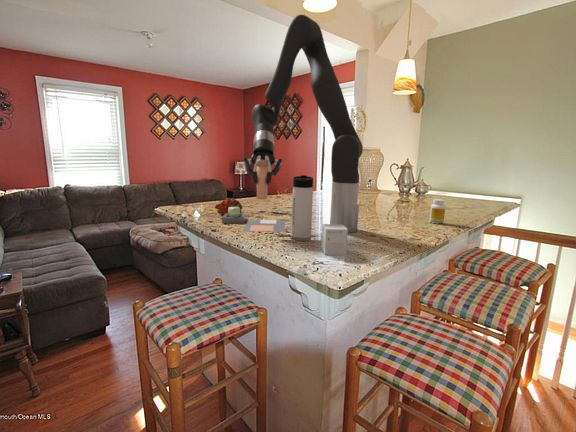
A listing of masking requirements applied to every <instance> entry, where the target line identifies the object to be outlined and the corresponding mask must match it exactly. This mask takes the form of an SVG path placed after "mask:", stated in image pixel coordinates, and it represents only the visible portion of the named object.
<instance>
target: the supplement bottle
mask: <svg viewBox="0 0 576 432" xmlns="http://www.w3.org/2000/svg"><path fill="white" fill-rule="evenodd" d="M432 203H433V204H431V205H430V212H429V219H428V220H429V221H428V222H429V223H430V222H432V223H431V224H433V223H443V224H444V221H445V220H444V219H445V215H446V214H445V213H446V206H445V205H444V204H445V200H444V199H441V198H440V199H439V198H434V199H433V202H432Z"/></svg>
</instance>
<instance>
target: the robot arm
mask: <svg viewBox="0 0 576 432" xmlns="http://www.w3.org/2000/svg"><path fill="white" fill-rule="evenodd" d="M301 50H302V51H303V53H304V55H305V57H306V59H307V62H308V65H309V69H310V87H311V90H312V94H313V96H314V99H315V102H316V104H317V106H318V108H319V110H320V112H321V113H322V115H323V117H324V118H325V120H326V121H327V123H328V125H329V126H330V128H331V131H332V135H333V137H334V142H333V144H332V147H331V148H332V149H331V162H330V163H331V164H330V165H331V166H330V171H331V177H332V181H331V182H332V183H331V196H330V197H331V198H330V199H331V200H330V216H329V218H330V219H329V220H330V221H329V224H338V225H344V226H345V227H346V228H347V229H348V234H349V233H356V232H358V226H359V225H358V224H359V208H360V205H359V204H358V201H359V200H358V199H359V198H358V197H359V185H360V174H359V159H360V158H361V156H362V154H363V149H364V147H363V143H362V140H361V139H360V137H359V135H358V133H357V131H356V129H355V127H354V124H353V122H352V120H351V118H350V114H349V111H348V107H347V103H346V99H345V97H344V93H343V91H342V88H341V86H340V83H339V80H338V77H337V74H336V73H335V70H334V68H333V65H332V62H331V60H330V58H329V54H328V53H327V49H326V44H325V40H324V37H323V32H322V29H321V27H320V25H319V24H318V23H317V22H316V21H315V20H314V19H311V18H310V17H309V16H307V15H305V14H298V15H296V16H295V17H293V18H292V19H291V21H290V23H289V25H288V28H287V31H286V33H285V38H284V42H283V45H282V47H281V51H280V56H279V59H278V61H277V66H276V67H275V70H274V73H273V75H272V78H271V80H270V83H269V85H268V87H267V89H266V91H265V93H264V97H265V99H266V100H267V101H268V103H270V104H272V105H273V106H272V108H271V107H269V106H266V105H265V104H261V103H258V104H255V106H253V108H252V110H251V120H252V121H251V122H252V125H253V127H254V138H253V148H252V155H251V157H250V158H247V157H243V164H244V167H245V171H246V172H247V175H248V176H249V175H250V176H252V183H253V184H254V185H257V160H268V173H267V186H269V185H270V184H271V183H272V176H277V175H278V174H279V171H280V169H281V167H282V166H283V159H282V158H276V157H275V155H274V154H275V139H274V138H275V136H274V135H275V128H274V127H276V126H277V124H278V123H279V118H280V117H279V116H280V111H281V108H282V105H283V101H284V99H285V98H286V96H287V93H288V91H289V89H290V86H291V83H292V79H293V70H294V65H295V61H296V59H297V56H298V54H299V53H300V51H301ZM251 163H252V165H254V167H253V168H252V166H251ZM274 164H275V166H273V165H274ZM271 166H273V169H272V167H271Z"/></svg>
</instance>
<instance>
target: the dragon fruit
mask: <svg viewBox="0 0 576 432" xmlns="http://www.w3.org/2000/svg"><path fill="white" fill-rule="evenodd" d="M229 207H240V214H242V209H243V205H242V204H241V202H240V201H239V200H237V199H235V198H234V197H231V198H229V197H227V198H224V200H222V201H221V202H220V203H218V204H216V205H215V206H214V209H215V210H217V213H218V214H219V215H224V214H225V213H228V208H229Z"/></svg>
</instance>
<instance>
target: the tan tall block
mask: <svg viewBox="0 0 576 432" xmlns="http://www.w3.org/2000/svg"><path fill="white" fill-rule="evenodd" d="M267 173H268V160H257V184H256V200H267V199H268V185H267Z"/></svg>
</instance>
